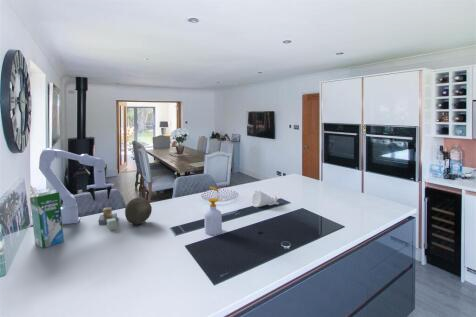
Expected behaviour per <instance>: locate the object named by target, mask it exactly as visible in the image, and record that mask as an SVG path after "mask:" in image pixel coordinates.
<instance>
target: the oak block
mask: <svg viewBox="0 0 476 317" xmlns="http://www.w3.org/2000/svg"><path fill="white" fill-rule="evenodd" d="M112 210H113V209H112V206H110V207H103V209H102V213H103V214H102V215H103V216H104V218H111V217H112V214H113V211H112Z"/></svg>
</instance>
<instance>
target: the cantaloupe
mask: <svg viewBox="0 0 476 317" xmlns="http://www.w3.org/2000/svg"><path fill="white" fill-rule="evenodd" d="M152 209H153V208H152V205H151V203H150V202H149V200H148V199H146V198H144V197H135V198H133V199H130V200H129V201H128V202H127V204H126V206H125V209H124V216H125V219H126V221H127V222H128V223H129V224H131V225H133V226H139V225H142V224H143V223H146V222H145V221H148V219H149V217H150V216H151V214H152Z"/></svg>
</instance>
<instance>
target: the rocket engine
mask: <svg viewBox="0 0 476 317" xmlns="http://www.w3.org/2000/svg"><path fill="white" fill-rule="evenodd" d="M251 197H252V198H251V199H252V202H251V203H252V206H253V207H255V208H260V207H264V206H273V205H279V204H280V203H279V201H278V199H279V198H278V197H277V195H274V196H271V195H268V194H267V193H265V192H264V191H263V192H262V191H261V190H258V189H257V190H254V192H253V194H252V196H251Z"/></svg>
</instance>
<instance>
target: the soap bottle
mask: <svg viewBox="0 0 476 317" xmlns="http://www.w3.org/2000/svg"><path fill="white" fill-rule="evenodd" d="M209 189H210V190H213V191H216V193H219V189H218V188H217V187H214V186H211V185H210V186H209ZM208 202H209V203H210V204H209V209H207V210H206V211H205V212H204V213H203V214H204V218H203V219H204V233H205V234H206V235H209V236H217V235H220V234H221V233H222V231H223V221H222V220H223V219H222V218H223V215H222V212H221V210H219V209H218V208H217V204H216V202H219V196H217V198H208Z"/></svg>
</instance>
